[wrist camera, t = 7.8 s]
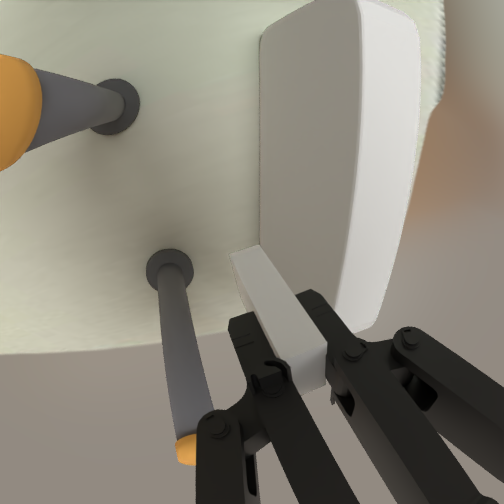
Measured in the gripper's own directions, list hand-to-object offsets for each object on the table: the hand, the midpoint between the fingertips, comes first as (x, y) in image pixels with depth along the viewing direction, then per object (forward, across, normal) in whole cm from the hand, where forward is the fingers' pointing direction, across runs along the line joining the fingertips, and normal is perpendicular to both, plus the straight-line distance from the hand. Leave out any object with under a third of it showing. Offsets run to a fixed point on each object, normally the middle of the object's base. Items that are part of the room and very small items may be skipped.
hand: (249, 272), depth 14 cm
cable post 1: (+20, -7, +10) cm, 23 cm away
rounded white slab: (+20, +10, +1) cm, 23 cm away
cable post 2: (+20, -7, -10) cm, 23 cm away
